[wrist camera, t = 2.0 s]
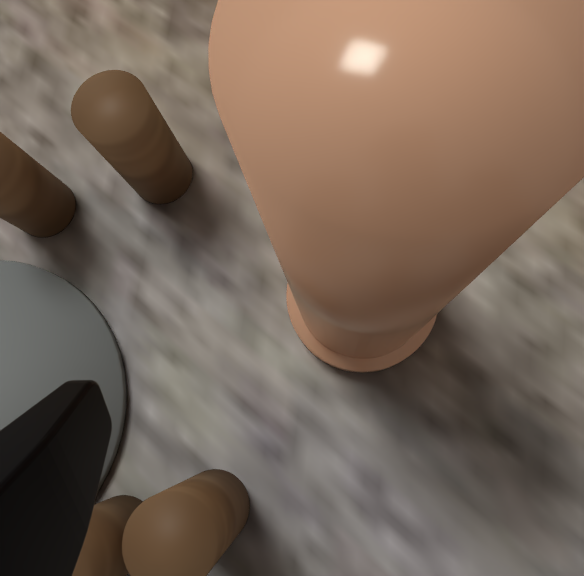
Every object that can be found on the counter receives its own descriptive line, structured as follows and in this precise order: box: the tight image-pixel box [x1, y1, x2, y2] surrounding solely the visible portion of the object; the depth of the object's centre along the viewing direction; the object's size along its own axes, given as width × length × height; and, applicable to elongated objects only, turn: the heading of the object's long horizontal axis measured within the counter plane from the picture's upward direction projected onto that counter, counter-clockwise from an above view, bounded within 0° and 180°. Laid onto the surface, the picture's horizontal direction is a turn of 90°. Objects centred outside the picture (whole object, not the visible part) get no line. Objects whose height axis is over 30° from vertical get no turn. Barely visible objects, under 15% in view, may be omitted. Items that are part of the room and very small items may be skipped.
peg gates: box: [0, 70, 250, 576], centre depth 17 cm, size 15×8×5 cm, turn 21°
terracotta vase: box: [209, 0, 584, 373], centre depth 12 cm, size 5×5×14 cm
